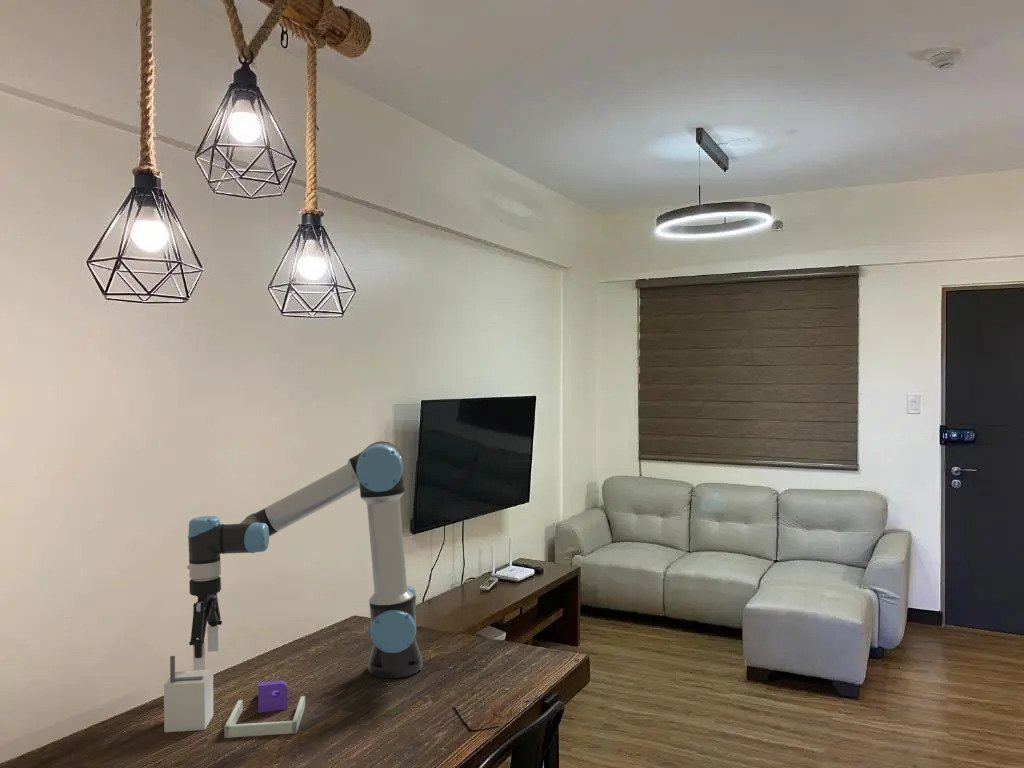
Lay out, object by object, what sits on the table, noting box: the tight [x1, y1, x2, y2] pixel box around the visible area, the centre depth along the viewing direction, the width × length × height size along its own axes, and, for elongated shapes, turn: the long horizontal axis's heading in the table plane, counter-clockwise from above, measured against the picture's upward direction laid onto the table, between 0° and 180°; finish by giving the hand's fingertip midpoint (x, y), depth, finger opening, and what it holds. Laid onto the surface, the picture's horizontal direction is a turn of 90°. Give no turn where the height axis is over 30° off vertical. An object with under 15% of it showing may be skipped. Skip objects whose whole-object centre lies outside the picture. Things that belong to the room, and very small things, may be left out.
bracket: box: [257, 680, 288, 713], centre depth 195 cm, size 12×7×7 cm, turn 17°
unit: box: [163, 655, 214, 733], centre depth 183 cm, size 9×8×17 cm
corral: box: [223, 695, 306, 739], centre depth 183 cm, size 16×15×2 cm
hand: (206, 660), depth 197 cm, fingers open, 13 cm apart
